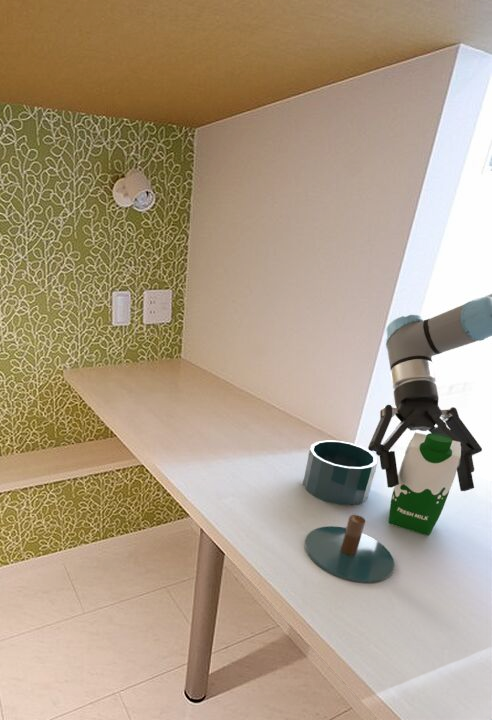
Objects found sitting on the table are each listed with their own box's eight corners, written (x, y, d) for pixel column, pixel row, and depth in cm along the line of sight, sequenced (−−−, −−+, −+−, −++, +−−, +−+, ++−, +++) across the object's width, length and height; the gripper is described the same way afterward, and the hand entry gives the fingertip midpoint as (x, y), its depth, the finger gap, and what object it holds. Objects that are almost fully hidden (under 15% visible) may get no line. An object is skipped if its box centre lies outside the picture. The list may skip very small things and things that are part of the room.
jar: (380, 500, 96) (392, 462, 91) (331, 512, 91) (340, 472, 87) (336, 472, 107) (344, 437, 103) (290, 480, 103) (297, 444, 99)
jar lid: (412, 574, 75) (426, 535, 71) (344, 594, 70) (356, 555, 67) (348, 525, 87) (358, 490, 84) (287, 540, 83) (294, 503, 79)
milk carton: (382, 526, 87) (410, 436, 78) (388, 505, 94) (415, 420, 85) (433, 542, 83) (468, 448, 74) (435, 519, 89) (468, 431, 81)
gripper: (465, 397, 92) (484, 495, 85) (344, 392, 94) (354, 488, 86) (490, 380, 85) (514, 486, 78) (359, 376, 86) (371, 479, 79)
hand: (430, 487), depth 82 cm, fingers open, 13 cm apart
